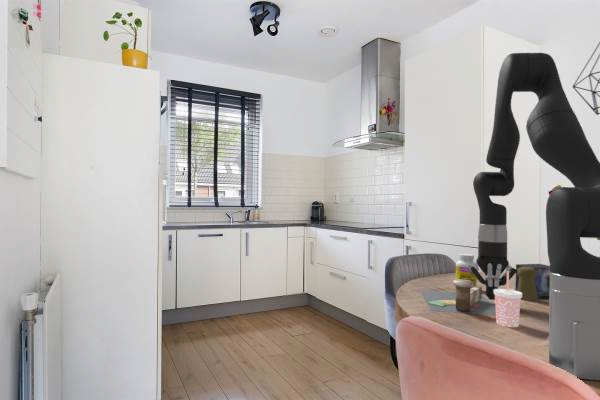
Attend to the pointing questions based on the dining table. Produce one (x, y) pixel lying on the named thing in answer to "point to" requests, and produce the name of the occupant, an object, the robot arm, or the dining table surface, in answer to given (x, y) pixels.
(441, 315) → the dining table surface
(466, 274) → the supplement bottle
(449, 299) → the grey flat slab
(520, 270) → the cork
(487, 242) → the robot arm
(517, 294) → the beverage cup
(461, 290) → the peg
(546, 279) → the small box
